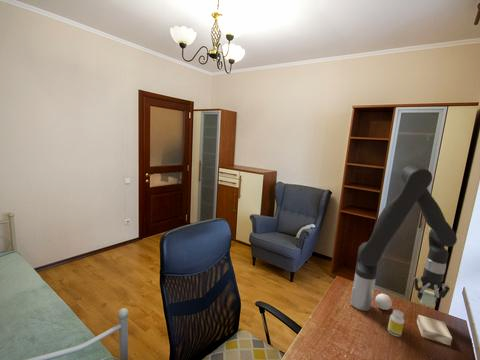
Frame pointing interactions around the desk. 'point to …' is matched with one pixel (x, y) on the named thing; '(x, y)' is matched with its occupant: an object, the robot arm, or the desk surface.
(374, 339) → the desk surface
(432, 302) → the sage cube
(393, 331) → the supplement bottle
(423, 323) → the birch block
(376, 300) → the white rounded oval
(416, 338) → the desk surface
